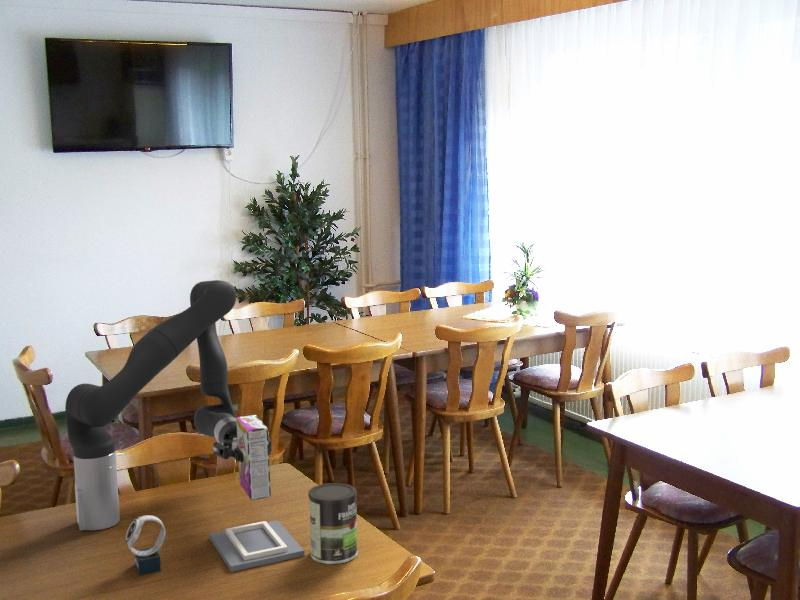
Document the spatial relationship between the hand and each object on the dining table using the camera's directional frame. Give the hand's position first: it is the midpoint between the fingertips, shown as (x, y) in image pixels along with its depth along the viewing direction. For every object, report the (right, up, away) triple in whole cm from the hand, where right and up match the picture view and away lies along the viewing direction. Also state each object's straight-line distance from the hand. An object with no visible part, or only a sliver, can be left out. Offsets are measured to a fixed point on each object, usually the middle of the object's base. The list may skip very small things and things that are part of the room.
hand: (254, 456), depth 190 cm
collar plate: (+1, -19, -6) cm, 20 cm away
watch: (-20, -21, -15) cm, 32 cm away
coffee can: (+19, -19, -10) cm, 29 cm away
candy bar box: (0, -9, +2) cm, 9 cm away
